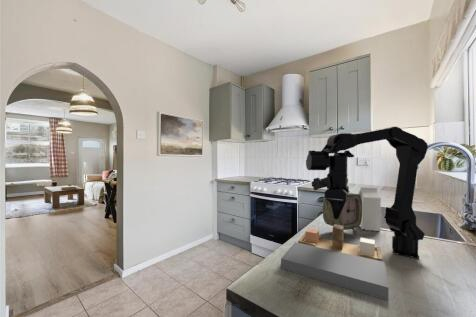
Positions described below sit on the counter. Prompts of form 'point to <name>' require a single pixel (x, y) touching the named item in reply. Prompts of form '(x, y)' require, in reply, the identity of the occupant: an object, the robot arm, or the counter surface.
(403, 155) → the robot arm
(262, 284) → the counter surface
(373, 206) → the milk carton
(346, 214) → the tabletop clock
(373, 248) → the block
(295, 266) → the grey flat slab
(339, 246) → the tray
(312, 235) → the block
